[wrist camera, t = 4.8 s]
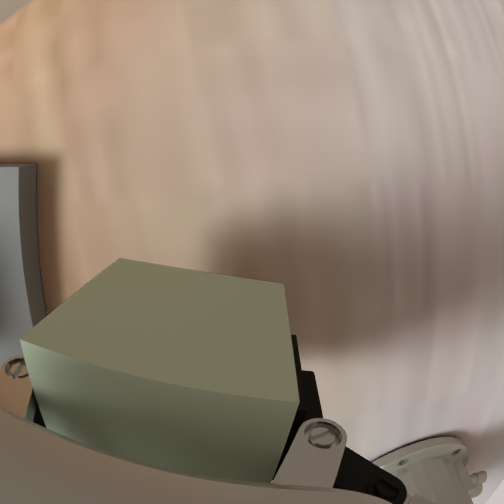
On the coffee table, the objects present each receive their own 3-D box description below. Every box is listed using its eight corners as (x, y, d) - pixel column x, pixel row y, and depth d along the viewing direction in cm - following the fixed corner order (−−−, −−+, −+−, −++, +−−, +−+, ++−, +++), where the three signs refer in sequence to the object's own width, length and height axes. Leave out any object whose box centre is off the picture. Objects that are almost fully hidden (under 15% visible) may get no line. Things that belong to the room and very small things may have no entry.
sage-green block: (283, 283, 11) (299, 402, 6) (257, 408, 13) (252, 526, 7) (119, 258, 11) (19, 338, 6) (125, 383, 13) (71, 483, 7)
